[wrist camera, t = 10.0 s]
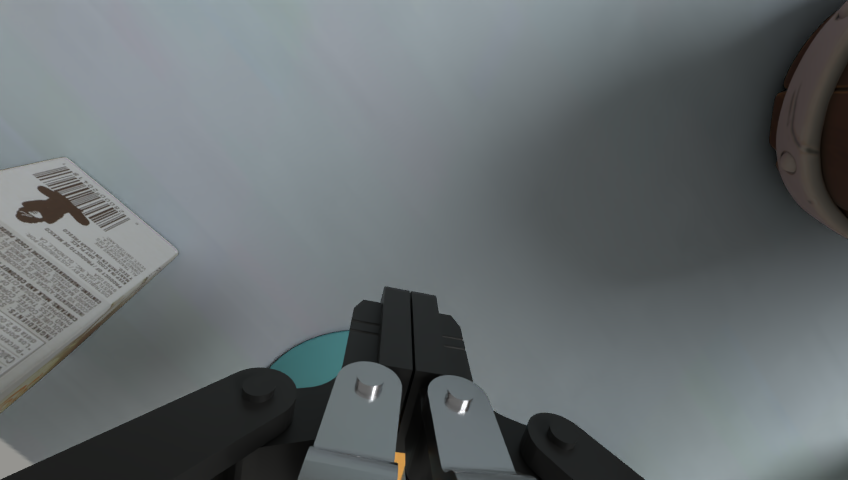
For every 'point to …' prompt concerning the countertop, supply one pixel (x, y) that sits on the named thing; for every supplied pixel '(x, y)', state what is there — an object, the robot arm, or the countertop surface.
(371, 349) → the robot arm
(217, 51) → the countertop surface
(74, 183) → the coffee box
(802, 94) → the flowerpot
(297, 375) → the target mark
